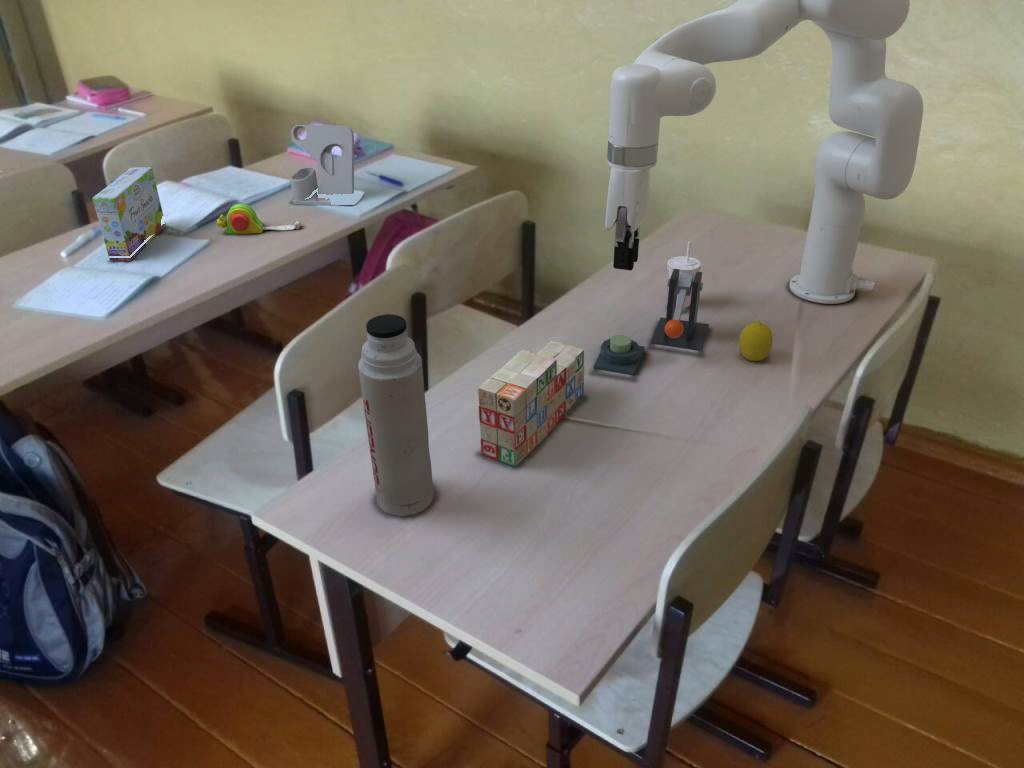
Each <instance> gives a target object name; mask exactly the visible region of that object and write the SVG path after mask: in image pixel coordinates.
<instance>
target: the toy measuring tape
mask: <svg viewBox="0 0 1024 768" xmlns="http://www.w3.org/2000/svg"><path fill="white" fill-rule="evenodd" d="M301 224H302V223H301V221H300V220H296V221H294V224H283V225H270V226H266V225H265V223H264V222H263V221H261V220H260V219H259V218H258V215H257V213H256V211H255V209H254V208H253V207H252V206H251V205H248V204H246V203H236V204H234V205H232V206H231V207H230V208H229V211H227V214H226V218H225V215H223V214H220V215H219V217H218V219H216V225H217V227H218V228H220V229H224V228H225V234H227V235H235V234H236V235H237V234H239V235H248V234H250V235H251V234H262V233H263V232H264V231H266V230H272V231H293V230H295V229H296V230H299V229H300V227H301Z"/></svg>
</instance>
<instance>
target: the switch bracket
mask: <svg viewBox="0 0 1024 768" xmlns="http://www.w3.org/2000/svg"><path fill="white" fill-rule="evenodd" d="M679 271H680V269H674V270H673V273H672V275H671V277H670V279H669V278H668V279H667V287H668V294H667V304H666V314H665V317H660V318H659V321H658V323H657V325H656V327H655V329H654V333H653V335H652V336H651V340H650V341H649V342H650V344H651V345H657V346H664V347H671V348H677V349H685V350H690V351H699V352H701V351H702V348H703V344H704V341H705V339H706V335H707V331H708V328H709V323H704V322H698V321H697V320H698V313H699V306H700V305H699V304H700V295H701V292H702V291H703V287H704V283H703V282H702V279H703V272H702V271H699V272H696V275H695V277H694V280H693V285H692V294H691V303H690V306H689V312H688V320H683V319H680V322H681V323H682V324H683V327H684V330H683V333H682V335H681V336H680V337H678V338H670V337H668V336H667V335H666V333H665V325H666V323H667V322H668V321H670V320H673V317H674V313H675V309H676V301H677V289H678V281H679Z"/></svg>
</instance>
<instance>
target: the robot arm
mask: <svg viewBox="0 0 1024 768" xmlns="http://www.w3.org/2000/svg"><path fill="white" fill-rule="evenodd" d="M910 5H911V4H910V0H736V1H735V2H733V3H732V4H730V5H729V6H726V7H725V8H724V7H723V8H721V9H718V10H715V11H713V12H710V13H708V14H705V15H703V16H701V17H697V18H695V19H692V20H690V21H687V22H685V23H682V24H680V25H678V26H676V27H674V28H672V29H671V30H669V31H667V32H666V33H664V34H663V35H662V36H660V37H658V39H656V40H655V41H654V42H653V43H652V44H650V45H649V46H648V47H646V48H645V49H644V50H643V51H642V52H641V53H640V54H639V55H638V56H637V57H636V59H635V60H634V62H633V63H632V64H626V65H622V66H619V67H616V68H615V70H614V71H613V72H612V74H611V76H610V87H609V91H610V92H609V109H608V111H609V113H608V132H607V133H608V135H607V136H608V137H607V153H606V154H607V155H606V163H607V165H608V166H610V167H611V169H610V173H609V179H608V188H607V198H606V208H605V209H606V210H605V220H604V223H605V224H604V228H605V229H606V231H610V230H612V229H613V227H614V226H615V235H614V246H613V247H614V248H613V264H612V266H613V268H614V269H617V270H624V271H633V270H634V268H635V267H634V264H635V263H637V262H638V260H639V248H640V247H639V246H640V238H639V237H640V227H641V223H642V221H643V219H644V218H645V216H646V213H647V208H648V202H649V189H650V176H651V175H650V171H651V169H652V168H653V167H655V166H656V165H657V164H658V154H659V153H658V151H659V140H660V139H659V138H660V129H661V119H662V118H664V117H688V116H694V115H696V114H699V113H701V112H703V111H704V110H705V109H706V108H707V107H708V106H709V105H710V104H711V103H712V102H713V100H714V98H715V94H716V91H717V83H716V78H715V75H714V74H713V72H712V71H711V70H710V69H709V68H708V67H707V66H705V65H708V64H714V63H721V62H733V61H739V60H740V61H741V60H744V59H750V58H753V57H754V58H755V57H758V56H759V55H762V53H764V52H766V51H767V50H768V49H769V48H770V47H771V46H773V45H774V44H775V43H776V42H777V41H779V40H780V39H781V38H782V37H784V36H785V35H786V34H787V33H789V32H790V31H791V30H792V29H793V28H795V27H796V26H797V25H799V24H800V23H801V22H804V21H811V22H812V23H813V24H814V25H815V26H817V27H818V28H820V29H821V30H822V31H823V32H824V33H825V35H826V37H827V38H828V40H829V42H830V46H831V53H832V56H831V57H832V58H831V74H830V87H829V99H828V115H829V118H830V119H829V120H830V121H831V122H832V123H833V124H834V125H836V126H838V127H840V128H841V129H842V128H843V129H846V130H841V131H836V132H833V133H831V134H829V135H827V136H826V137H825V138H824V139H823V140H822V142H820V144H819V146H818V148H817V151H816V154H815V161H814V178H815V179H814V182H815V183H814V195H813V199H812V200H813V201H812V207H811V213H810V217H809V222H808V226H807V227H808V228H807V233H806V237H805V244H804V248H803V252H802V253H803V254H802V260H801V263H800V270H799V274H796V275H794V276H792V277H791V278H790V281H789V285H788V287H789V290H790V292H792V294H794V295H795V296H797V297H799V298H800V299H803V300H805V301H808V302H812V303H818V304H823V305H824V304H825V305H835V304H836V305H837V304H843V303H846V302H849V301H851V300H852V299H853V298H854V297H855V295H856V290H857V289H858V290H862V291H869V292H873V291H874V288H875V281H873V280H868V276H865V275H856V274H855V273H854V267H853V266H854V261H855V258H856V252H857V247H858V245H859V244H858V243H859V239H860V235H861V230H862V227H863V222H864V218H865V213H866V200H865V195H866V196H869V197H872V198H874V199H878V200H886V201H887V200H893V199H896V198H898V197H899V196H900V195H902V194H903V193H904V191H905V190H906V189H907V188H908V186H909V184H910V182H911V180H912V178H913V174H914V170H915V166H916V162H917V161H916V160H917V154H918V149H919V142H920V136H921V130H922V123H923V117H924V101H923V97H922V95H921V93H920V91H919V90H918V89H917V87H915V86H914V85H912V84H910V83H907V82H904V81H901V80H897V79H892V78H888V76H887V75H886V57H887V39H888V38H890V37H892V36H893V35H894V34H895V33H897V32H898V31H899V30H900V29H901V28H902V26H903V25H904V24H905V22H906V19H907V18H908V15H909V11H910Z"/></svg>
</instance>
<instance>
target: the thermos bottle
mask: <svg viewBox="0 0 1024 768" xmlns="http://www.w3.org/2000/svg"><path fill="white" fill-rule="evenodd" d="M365 329H366V333H367V334H366V339H367V340H366V341H365V342H364V343H363V344H362V347H361V354H360V357H361V358H360V359H359V361H358V365H357V367H358V375H359V382H360V389H361V396H362V403H363V412H364V417H365V424H366V425H365V426H366V434H367V441H368V445H369V453H370V454H369V455H370V461H371V468H372V476H373V482H374V489H375V496H376V503H377V505H378V507H379V508H380V509H381V510H382V511H383V512H385V513H387V514H389V515H391V516H397V517H406V516H407V517H408V516H413V515H416V514H419V513H421V512H422V511H425V509H427V508H428V507H429V506H430V505H431V503H433V500H434V496H435V492H434V480H433V471H432V460H431V453H430V445H429V443H430V440H429V425H428V414H427V404H426V392H425V381H424V370H423V369H424V368H423V361H422V357H421V355H420V354H419V353H418V352H417V351H418V350H417V348H416V346H415V342H414V340H413V339H412V338H410V337H409V336H408V333H407V320H406V319H405V318H404V317H403V316H401V315H397V314H392V313H391V314H390V313H385V314H380V315H377V316H373V317H372V318H370V319H369V320H368V321H367V322H366V325H365Z"/></svg>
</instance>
